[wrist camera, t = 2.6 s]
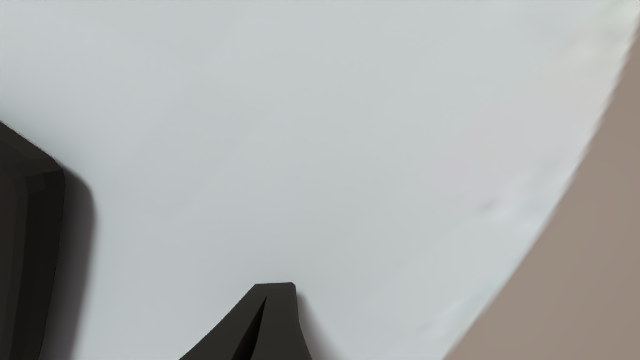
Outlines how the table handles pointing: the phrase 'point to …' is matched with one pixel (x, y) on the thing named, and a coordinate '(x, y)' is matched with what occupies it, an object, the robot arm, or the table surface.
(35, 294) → the light switch
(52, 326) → the table surface
